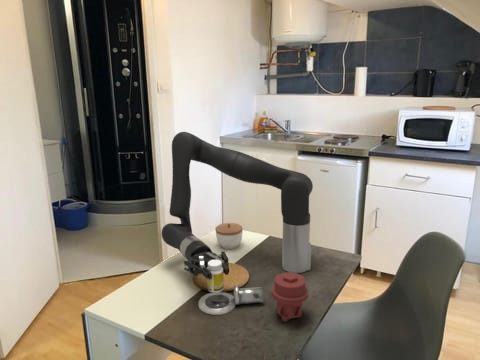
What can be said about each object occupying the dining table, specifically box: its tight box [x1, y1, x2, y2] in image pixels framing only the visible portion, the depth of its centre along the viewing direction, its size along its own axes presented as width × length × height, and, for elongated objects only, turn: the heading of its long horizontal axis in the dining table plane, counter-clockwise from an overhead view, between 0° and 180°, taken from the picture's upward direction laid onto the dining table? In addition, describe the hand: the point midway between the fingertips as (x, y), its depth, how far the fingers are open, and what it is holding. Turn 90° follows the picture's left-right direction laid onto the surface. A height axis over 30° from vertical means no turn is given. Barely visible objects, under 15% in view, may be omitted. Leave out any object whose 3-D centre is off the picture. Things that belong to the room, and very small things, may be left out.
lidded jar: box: [214, 222, 243, 250], centre depth 153 cm, size 11×11×9 cm
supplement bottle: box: [206, 260, 225, 293], centre depth 112 cm, size 5×5×8 cm
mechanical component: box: [271, 271, 309, 323], centre depth 107 cm, size 12×10×10 cm
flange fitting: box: [198, 284, 264, 316], centre depth 114 cm, size 19×11×6 cm, turn 95°
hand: (219, 274), depth 110 cm, fingers closed on supplement bottle, 4 cm apart
